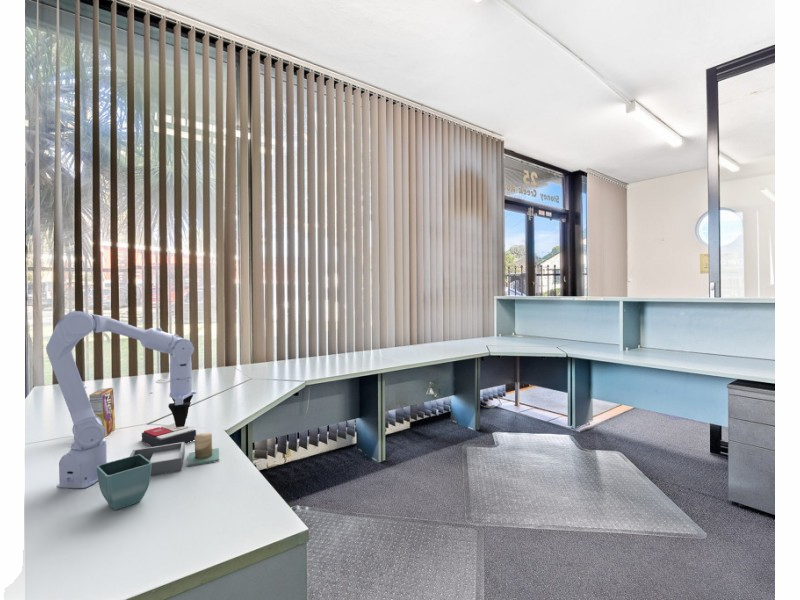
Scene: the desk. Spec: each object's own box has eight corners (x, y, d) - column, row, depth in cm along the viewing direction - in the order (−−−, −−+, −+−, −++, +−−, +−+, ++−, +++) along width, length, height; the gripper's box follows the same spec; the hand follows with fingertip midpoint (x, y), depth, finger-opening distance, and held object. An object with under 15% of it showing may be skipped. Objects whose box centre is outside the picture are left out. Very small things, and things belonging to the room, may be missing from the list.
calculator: (176, 421, 136) (196, 427, 127) (176, 433, 136) (197, 440, 127) (141, 430, 127) (160, 437, 118) (141, 443, 127) (160, 451, 118)
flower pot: (140, 489, 95) (140, 453, 94) (153, 500, 89) (152, 462, 89) (96, 504, 88) (95, 465, 88) (107, 518, 82) (106, 476, 82)
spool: (206, 459, 110) (206, 438, 110) (191, 459, 110) (191, 438, 110) (215, 452, 114) (214, 432, 114) (200, 452, 115) (200, 432, 115)
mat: (187, 466, 107) (187, 464, 107) (189, 454, 115) (189, 452, 115) (219, 461, 110) (219, 459, 110) (218, 449, 118) (218, 447, 118)
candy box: (101, 430, 137) (100, 388, 137) (115, 429, 138) (114, 387, 138) (89, 439, 128) (88, 394, 128) (104, 438, 130) (103, 393, 129)
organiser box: (123, 481, 98) (123, 468, 98) (133, 462, 110) (133, 449, 110) (181, 470, 104) (181, 458, 104) (184, 453, 116) (184, 441, 116)
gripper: (194, 381, 110) (195, 428, 110) (197, 372, 123) (197, 414, 123) (166, 383, 107) (166, 431, 107) (172, 374, 120) (172, 417, 120)
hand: (181, 422), depth 115 cm, fingers open, 7 cm apart
